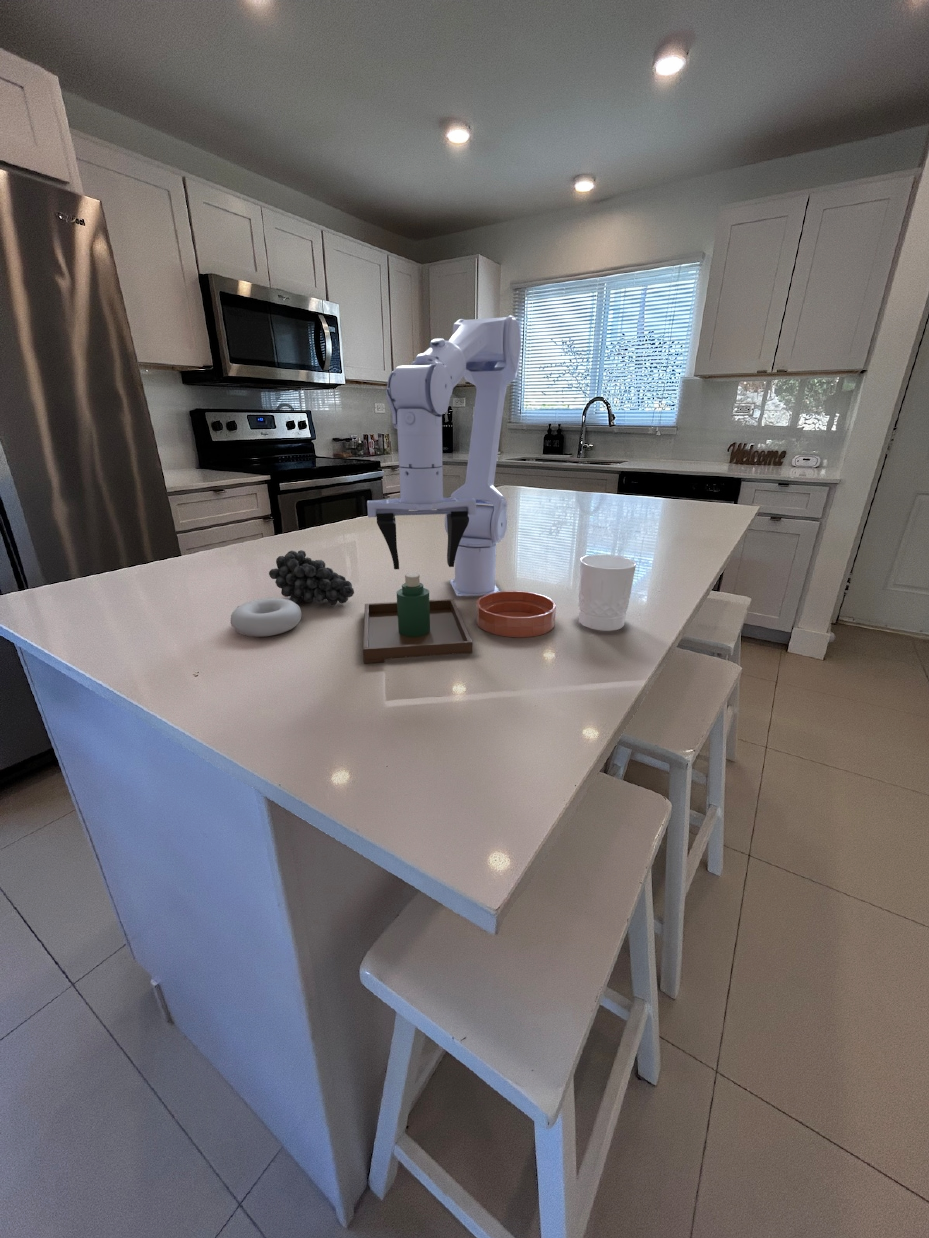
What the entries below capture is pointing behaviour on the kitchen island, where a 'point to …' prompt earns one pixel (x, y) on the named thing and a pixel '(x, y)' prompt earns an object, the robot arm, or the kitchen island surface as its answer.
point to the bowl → (515, 613)
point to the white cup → (605, 591)
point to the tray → (389, 643)
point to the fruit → (309, 579)
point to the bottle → (413, 607)
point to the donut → (265, 617)
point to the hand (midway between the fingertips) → (423, 566)
